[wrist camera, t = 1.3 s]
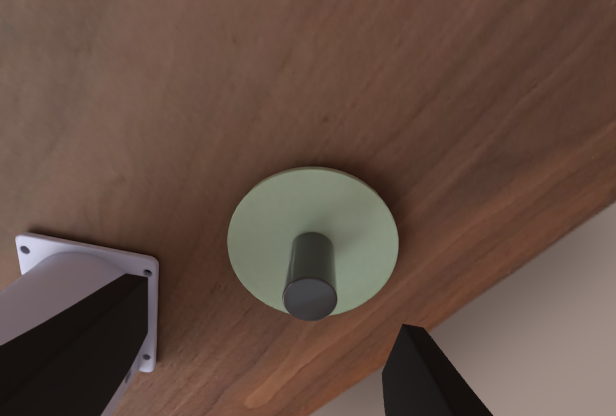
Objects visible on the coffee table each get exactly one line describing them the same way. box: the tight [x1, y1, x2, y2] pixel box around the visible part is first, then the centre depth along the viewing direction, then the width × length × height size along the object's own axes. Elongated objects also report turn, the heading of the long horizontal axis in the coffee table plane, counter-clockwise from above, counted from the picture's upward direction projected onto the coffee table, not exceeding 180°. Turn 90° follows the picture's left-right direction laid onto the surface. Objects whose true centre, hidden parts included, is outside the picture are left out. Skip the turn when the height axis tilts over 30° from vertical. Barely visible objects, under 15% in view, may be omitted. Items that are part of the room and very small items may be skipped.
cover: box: [227, 166, 399, 321], centre depth 17 cm, size 9×9×5 cm
